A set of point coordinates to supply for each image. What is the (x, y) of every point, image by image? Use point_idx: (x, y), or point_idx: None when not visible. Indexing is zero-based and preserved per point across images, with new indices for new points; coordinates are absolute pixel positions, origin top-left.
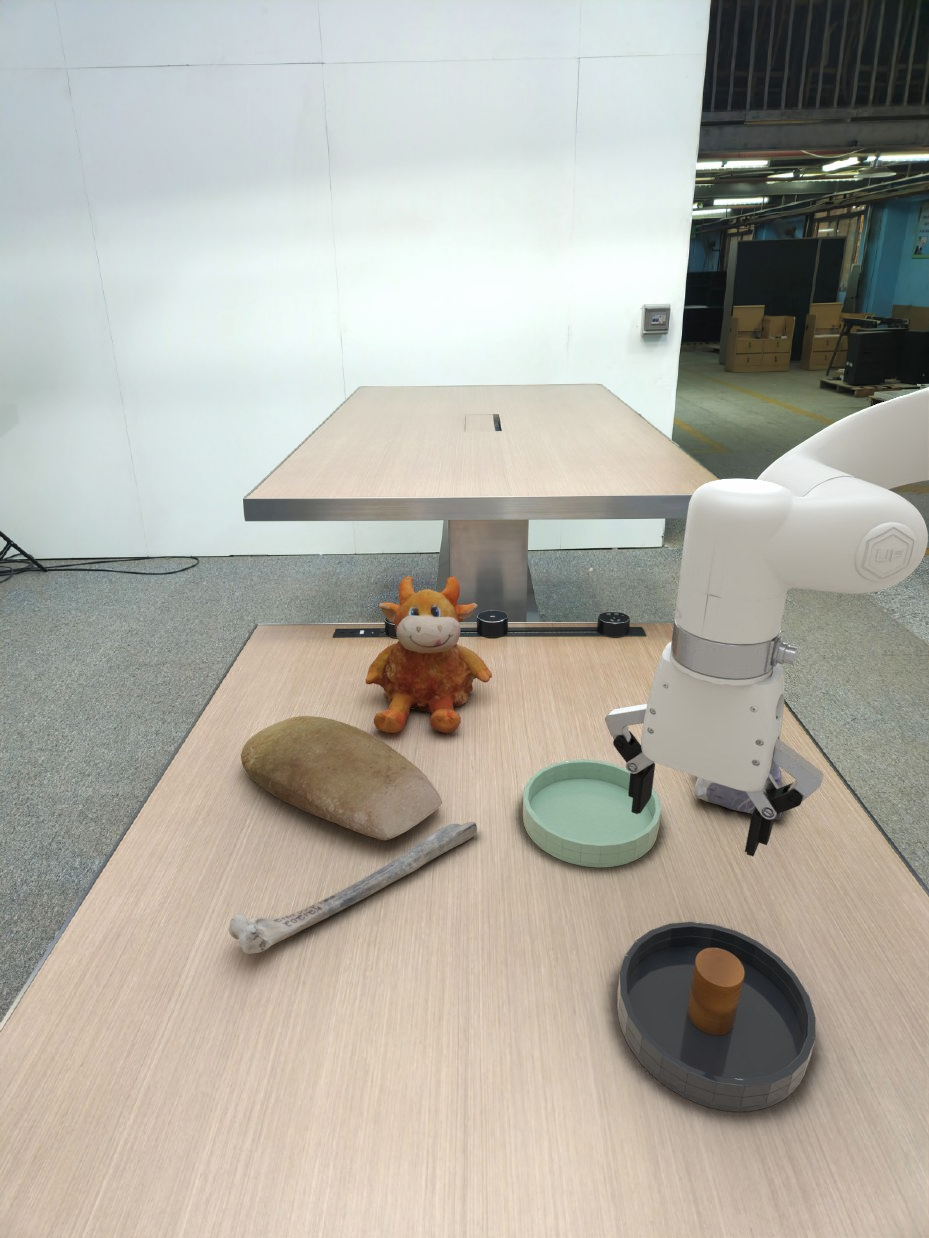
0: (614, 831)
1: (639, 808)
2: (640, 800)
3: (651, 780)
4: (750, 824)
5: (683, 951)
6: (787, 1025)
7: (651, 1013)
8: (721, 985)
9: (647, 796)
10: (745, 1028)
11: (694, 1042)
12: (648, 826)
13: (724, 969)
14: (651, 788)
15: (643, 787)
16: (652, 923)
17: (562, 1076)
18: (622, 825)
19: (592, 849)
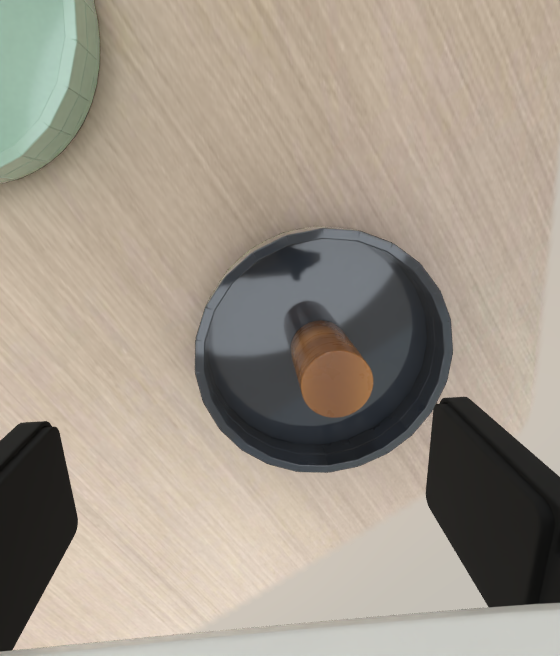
0: (10, 41)
1: (65, 546)
2: (47, 580)
3: (7, 506)
4: (490, 605)
5: (254, 270)
6: (406, 308)
7: (255, 386)
8: (348, 414)
9: (50, 490)
10: (361, 341)
11: None
12: (65, 22)
13: (345, 386)
14: (35, 460)
15: (14, 627)
16: (191, 235)
17: (206, 493)
18: (12, 7)
19: (13, 165)
